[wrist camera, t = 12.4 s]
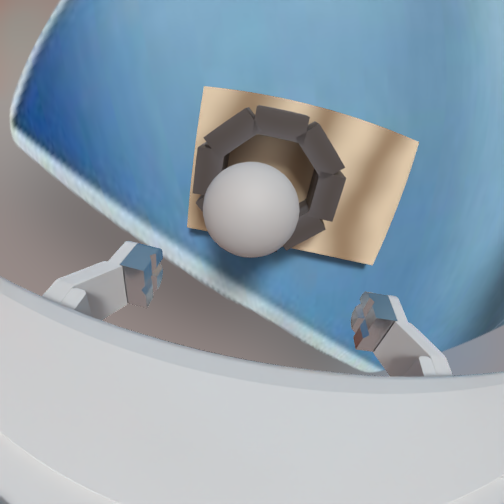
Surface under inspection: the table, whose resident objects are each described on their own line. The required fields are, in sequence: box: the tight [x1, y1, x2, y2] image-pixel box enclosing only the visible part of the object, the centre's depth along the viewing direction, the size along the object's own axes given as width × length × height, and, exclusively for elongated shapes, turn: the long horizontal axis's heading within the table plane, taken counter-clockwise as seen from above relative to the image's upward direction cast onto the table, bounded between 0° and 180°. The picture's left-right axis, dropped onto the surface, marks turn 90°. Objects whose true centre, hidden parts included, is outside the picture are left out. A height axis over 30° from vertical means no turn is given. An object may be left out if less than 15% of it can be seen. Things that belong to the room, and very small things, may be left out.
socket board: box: [187, 86, 419, 265], centre depth 24 cm, size 20×14×4 cm
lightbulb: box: [203, 162, 300, 258], centre depth 20 cm, size 6×6×11 cm
